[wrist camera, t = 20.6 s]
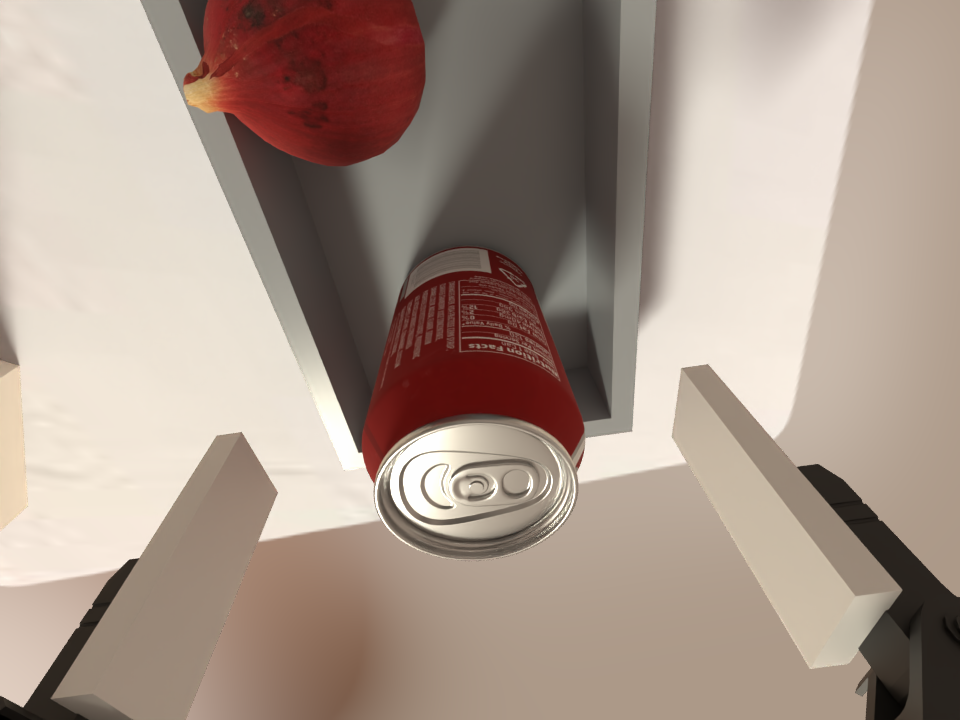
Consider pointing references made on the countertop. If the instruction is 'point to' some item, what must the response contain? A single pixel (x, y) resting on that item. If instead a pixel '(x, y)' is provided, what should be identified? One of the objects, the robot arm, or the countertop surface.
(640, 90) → the tote
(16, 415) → the milk
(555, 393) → the soda can
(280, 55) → the onion
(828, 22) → the countertop surface
